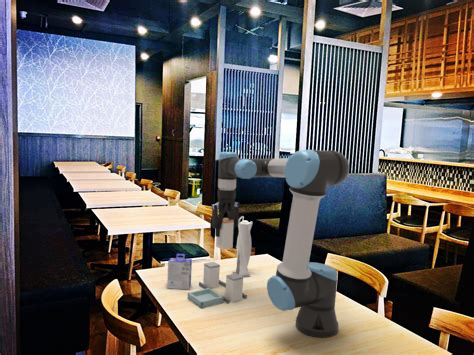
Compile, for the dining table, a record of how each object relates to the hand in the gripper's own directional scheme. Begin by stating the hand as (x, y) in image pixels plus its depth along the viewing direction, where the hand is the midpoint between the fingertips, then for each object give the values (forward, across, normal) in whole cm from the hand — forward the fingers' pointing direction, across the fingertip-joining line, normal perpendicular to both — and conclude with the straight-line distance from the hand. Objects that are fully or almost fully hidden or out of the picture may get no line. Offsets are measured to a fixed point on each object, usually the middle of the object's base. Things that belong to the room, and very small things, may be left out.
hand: (224, 243), depth 173 cm
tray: (+22, +11, +4) cm, 25 cm away
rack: (+22, 0, 0) cm, 22 cm away
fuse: (+2, 0, 0) cm, 2 cm away
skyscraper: (+22, -21, -13) cm, 33 cm away
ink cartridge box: (+22, +13, -14) cm, 29 cm away
